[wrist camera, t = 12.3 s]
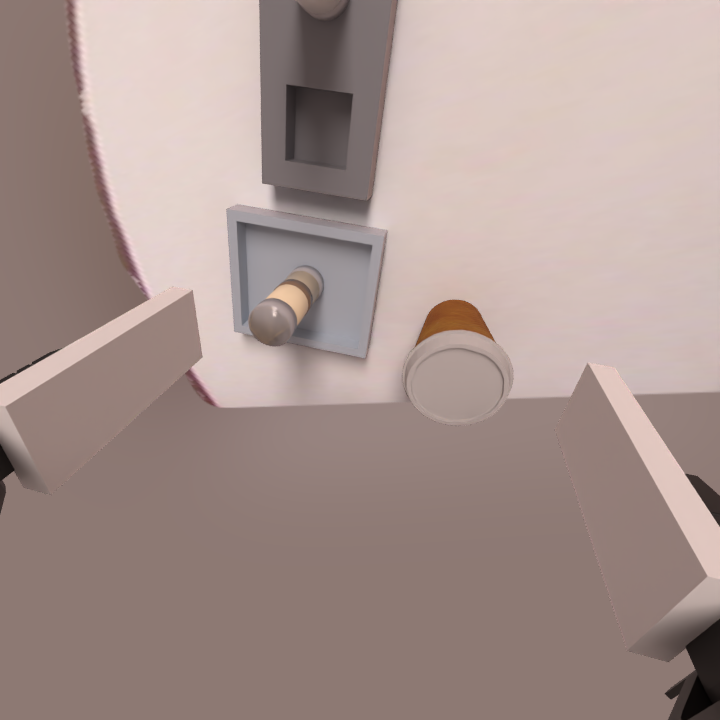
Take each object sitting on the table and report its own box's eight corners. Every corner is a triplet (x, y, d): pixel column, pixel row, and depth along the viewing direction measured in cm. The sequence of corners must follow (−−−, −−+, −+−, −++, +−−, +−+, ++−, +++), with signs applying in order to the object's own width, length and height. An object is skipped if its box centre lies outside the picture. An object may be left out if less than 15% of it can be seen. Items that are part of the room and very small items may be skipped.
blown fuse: (325, 268, 42) (292, 310, 32) (323, 302, 44) (290, 350, 35) (290, 262, 42) (247, 301, 33) (289, 295, 44) (248, 341, 35)
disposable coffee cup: (413, 362, 46) (405, 429, 36) (407, 287, 42) (396, 340, 31) (496, 361, 44) (512, 431, 34) (500, 282, 39) (520, 336, 29)
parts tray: (387, 230, 39) (384, 236, 37) (368, 347, 46) (365, 358, 44) (237, 204, 40) (226, 208, 38) (243, 322, 48) (234, 331, 46)
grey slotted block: (406, -71, 28) (379, -214, 16) (372, 195, 37) (339, 228, 26) (274, -84, 28) (155, -230, 17) (274, 179, 38) (199, 204, 26)
